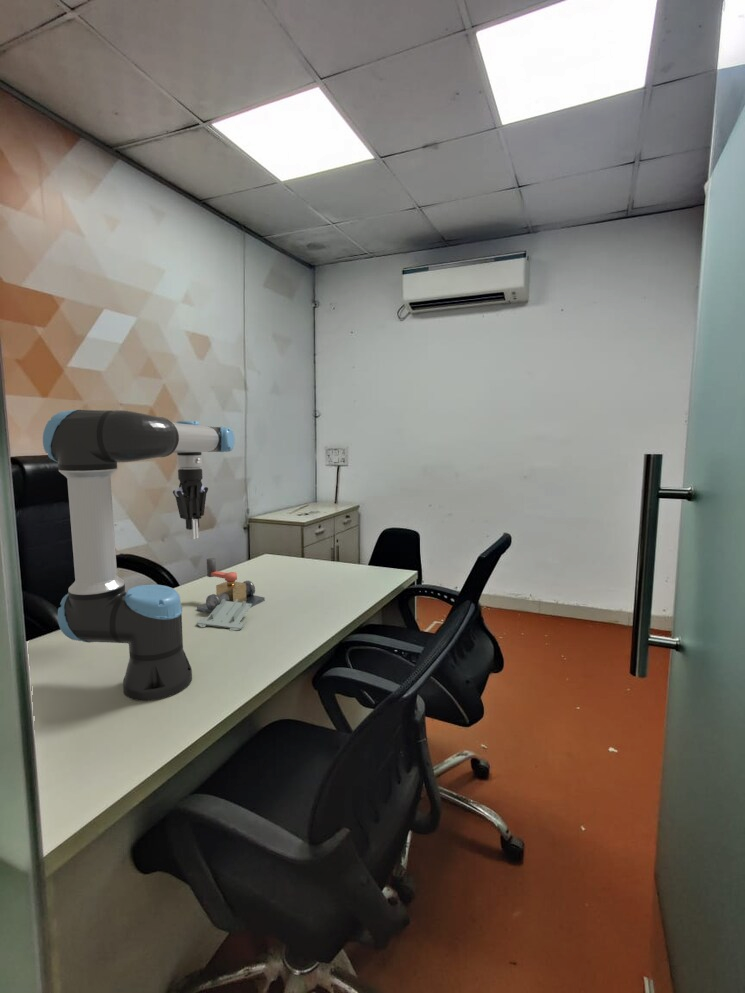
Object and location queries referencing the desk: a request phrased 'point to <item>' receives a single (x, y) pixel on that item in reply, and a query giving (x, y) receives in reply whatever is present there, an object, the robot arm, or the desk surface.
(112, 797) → the desk surface
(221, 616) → the metal bracket
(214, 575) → the lever
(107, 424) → the robot arm
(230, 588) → the valve
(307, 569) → the desk surface
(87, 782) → the desk surface
